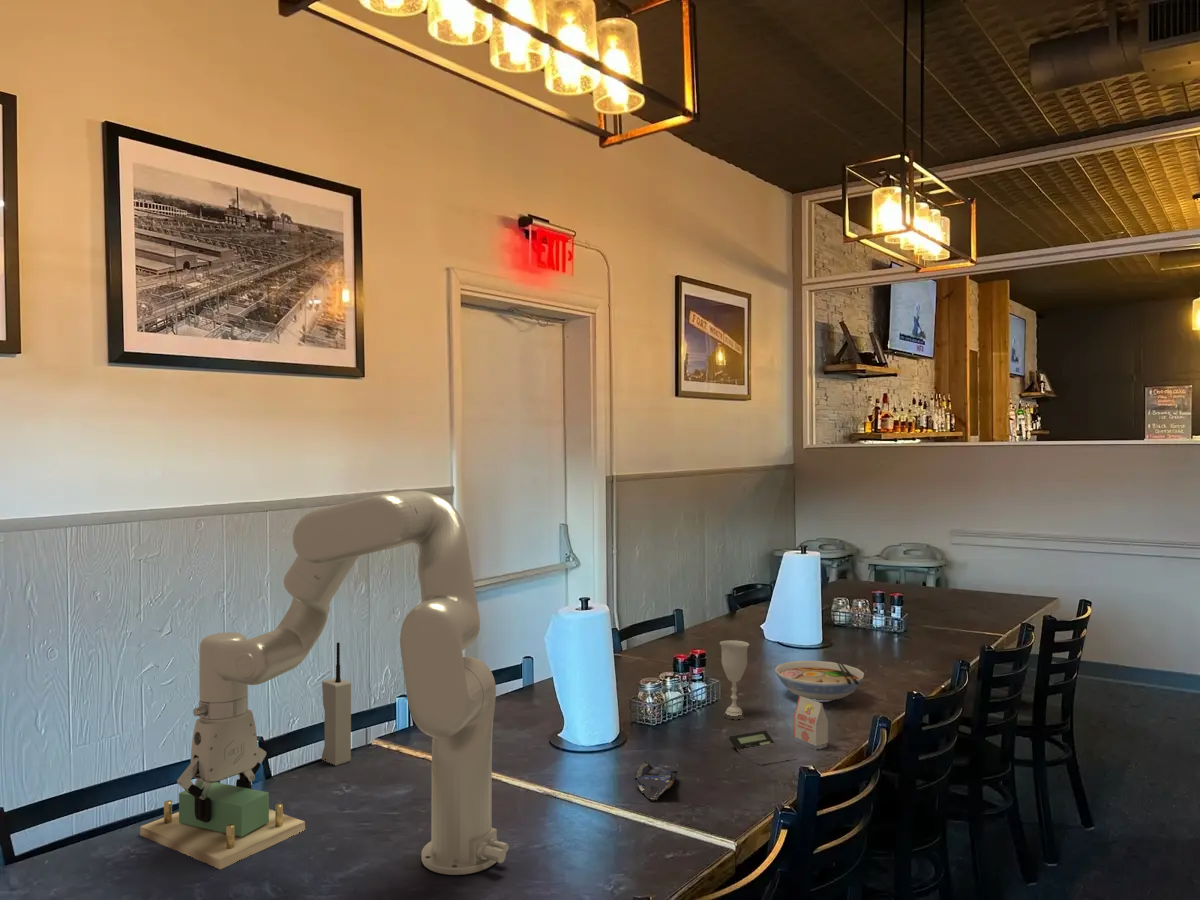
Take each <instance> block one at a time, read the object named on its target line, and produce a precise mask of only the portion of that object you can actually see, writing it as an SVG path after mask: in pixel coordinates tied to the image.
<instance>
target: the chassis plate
mask: <svg viewBox="0 0 1200 900" xmlns="http://www.w3.org/2000/svg"><path fill="white" fill-rule="evenodd" d="M274 807H275V808H274V809H275V810H273V809H270V808H269V822H268V823H266V824H264V825H262V826H261V827H259V828H257V829H255V830H253V831H251V832H250V833H248V834H246V835H244V836H242V837H240V836H236V835H235V825H234V824H228V825H227V826H226V833H223V832H218V831H214V830H209V829H205V828H201V827H196V826H192V825H187V824H183V823H179V811H177V812H175V813H173V801H172V800H166V801H164V802H163V817H162V818H159V819H157V820H154V821H151V822H149V823H146V824H143V825H141V826H140V827H139V830H140V832H139V834H140V836H141V837H144V838H146V839H148V840H150V841H153V842H155V843H157V844H159V845H162V846H164V847H167V848H169V849H172V850H173V851H176V850H177V851H176V852H178V851H179V853H181V854H183V855H185V854H186V856H189V857H190V856H191V858H192V857H193V859H195V860H197V861H200V862H202V863H205V864H206V863H207V865H210V866H211V867H213V866H214V868H216V869H218V870H222V869H224V868H227V867H229V866H231V865H233V864H235V863H237V861H238V862H240V861H242V860H244V859H246V858H249V857H250V855H251V856H252V855H254V854H257V853H260V852H261V851H263V850H266V849H268V848H270V847H272V846H275V845H277V844H278V843H280V842H283V841H285V840H288V839H290V838H292V837H294V836H296V835H298V834H300V833H303V832H305V831H306V821H305V820H301V819H298V818H296V817H293V816H290V815H287V814H284V804H283V803H277V804H275V806H274ZM304 830H305V831H304ZM302 831H303V832H302ZM299 832H300V833H299ZM293 835H294V836H293ZM291 836H292V837H291ZM289 837H290V838H289ZM241 859H242V860H241ZM239 860H240V861H239Z"/></svg>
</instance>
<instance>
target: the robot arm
mask: <svg viewBox="0 0 1200 900" xmlns="http://www.w3.org/2000/svg"><path fill="white" fill-rule="evenodd" d="M293 529H294V530H293V533H292V546H293V549H294V551H295V552H296V554H297V557H296V558H295V559H294V561H293V562H292V564H291V566H290V567H289V569H288V570H287V571H286V573H285V575H284V578H283V586H284V589H285V590H286V592H288V594H289V596H291V597H292V601H291V603H290V606H289V608H288V610H287V611H286V613H285V615H284V616H283V617H282V620H281V621H280V622H279V624H278V626H277V627H276V628H275V629H274V630H271V631H268V632H266V633H263V634H260V635H258V636H253V637H252V638H249V639H247V637H246V636H245V635H244V634H243V633H240V632H218V633H213V634H209V635H207V636H205V637H203V638H202V640H201V642H200V643H199V650H198V651H199V659H198V660H199V671H198V672H199V680H198V681H199V688H198V689H199V693H198V694H199V698H198V700H199V701H198V706H197V707H196V708H194V709H193V711H192V713H193V716H194V717H199V718H196V720H195V724H194V729H193V733H192V743H191V751H190V752H191V754H190V764H189V765H188V766H187V767H186V768H185V770H184V771H183V772H182V773H181V774H180V776H179V777H178V779H177V780H176V783H177V785H179V786H180V787H181V788H182V789H184V791H187V792H188V793H189V794H191V795H192V796H193V797H195V816H196V819H197V820H200V821H202V822H205V823H207V822H210V820H211V799H210V798H209V797H207V796H208V793H209V791H210V788H211V786H212V783H215V782H218V783H219V782H220V781H224V780H227V779H229V778H232V777H234V776H238V777H239V778H238V779H236V781H235V786H238V787H243V788H248V789H252V782H254V781H255V779H256V774H257V772H258V771H259V769H260V767H261V764H262V763H263V761H264V760H265V758H266V756H267V751H265V750H264V749H263V748H261V747H259V746H258V737H257V736H258V735H257V727H256V722H255V717H254V714H253V711H252V710H251V709H249V707H248V704H249V703H248V701H249V700H248V699H249V697H248V696H249V695H248V689H249V688H248V686H256V685H260V684H261V685H262V684H263V683H266V682H269V681H270V680H272V679H275V678H277V677H279V676H280V675H283V674H285V673H287V672H289V671H291V670H293V669H295V668H296V667H298V666H299V665H300V664H301V663H302V662H303V661H304V660H305V659H306V658H307V656H308V655H309V653H310V652H311V650H312V648H314V645H315V644H316V643H317V641H318V640H319V638H320V636H322V635H321V634H322V633H323V631H324V629H325V627H326V624H327V621H328V617H329V612H330V605H331V601H332V600H333V598H334V596H335V595H336V593H337V591H338V590H339V588H340V586H341V585H342V584H343V582H344V580H345V578H346V577H347V575H348V573H349V572H350V571H351V569H352V568H353V566H354V565H355V563H356V562H357V560H358V558H359V557H360V556H364V555H368V554H372V553H376V552H381V551H386V550H390V549H394V548H398V547H402V546H405V545H410V544H416V545H417V547H418V559H417V560H418V561H417V575H418V581H419V584H420V585H419V587H420V596H421V602H420V603H419V604H417V605H415V606H414V607H413V608H412V609H411V610H409V612H408V613H407V614H406V616H405V618H404V620H403V622H402V623H401V624H402V625H401V627H400V636H399V647H400V648H399V649H400V655H401V662H402V670H403V676H404V682H405V683H404V684H405V690H406V699H407V703H408V707H409V708H408V709H409V712H410V715H411V718H412V721H413V722H414V724H415V725H416V727H417V728H418V729H419V730H420V731H421V732H422V733H423V734H425V735H426V736H429V737H430V738H432V740H431V829H430V830H431V839H430V841H429V842H427V844H425V845H424V846H423V848H422V849H421V863H422V865H423V866H424V867H425V868H427V869H428V870H429V871H431V872H434V873H438V874H441V875H442V874H443V875H449V876H462V875H470V874H471V875H472V874H475V873H479V872H481V871H484V870H487V869H488V868H490V867H492V866H493V865H495V864H496V863H498V864H502V863H504V861H505V860H506V857H507V852H508V850H509V847H510V846H509V845H510V844H509V843H507V842H504V841H499V840H498V838H497V833H498V831H497V828H495V827H492V806H493V805H492V797H493V796H492V791H493V790H492V785H493V784H492V782H493V781H492V776H493V775H492V770H493V769H492V764H493V763H492V759H493V727H494V726H493V725H494V715H495V707H496V696H497V692H496V691H497V689H496V688H497V685H496V681H495V677H494V675H493V672H492V670H491V668H490V667H489V666H488V665H487V664H486V663H485V662H484V661H483V660H481V659H478V658H476V657H474V656H464V655H463V651H464V650H466V649H467V648H468V647H469V646H470V645H471V644H473V642H474V641H475V640H476V639H477V637H478V636H479V633H480V629H481V620H480V619H481V618H480V614H479V613H480V612H479V608H478V601H477V594H476V586H475V581H474V573H473V570H472V564H471V563H472V562H471V558H470V550H469V542H468V534H467V530H466V526H465V524H464V521H463V519H462V517H461V515H460V514H459V512H458V511H457V509H456V508H455V507H454V505H452V504H451V503H450V502H449V501H447V500H446V499H444V498H443V497H441V496H438V495H436V494H435V493H434V494H433V493H431V492H426V491H421V490H420V491H419V490H404V491H397V492H390V493H389V492H388V493H382V494H378V495H377V494H376V495H372V496H368V497H365V498H361V499H356V500H352V501H349V502H344V503H340V504H337V505H332V506H327V507H323V508H318V509H315V510H311V511H309V512H307V513H306V514H304V515H303V516H302V517H301V518H300V519H299V520H298V522H297V524H296V525H295V527H294V528H293ZM192 779H196V780H195V782H192ZM203 783H204V784H203ZM202 785H203V787H202ZM201 788H202V789H201Z"/></svg>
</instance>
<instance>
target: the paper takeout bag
mask: <svg viewBox="0 0 1200 900" xmlns="http://www.w3.org/2000/svg"><path fill="white" fill-rule="evenodd" d="M823 704H824V703H819V702H817V701H814V700H811V699H808V698H805V697H802V696H798V699H797V703H796V706H795V710H794V711H793V712H794V713H793V738H794V737H796V738H799V739H801V740H803V741H805V742H808V743H810V744H813V745H815V746H817V745H821V744H825V743H828V744H829V720H828V716H827V715H826V712H825V709H824V706H823Z"/></svg>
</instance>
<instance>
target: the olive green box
mask: <svg viewBox="0 0 1200 900" xmlns="http://www.w3.org/2000/svg"><path fill="white" fill-rule="evenodd" d="M203 784H204V783H203ZM202 787H203V785H202ZM201 789H202V788H201ZM207 797H209V798H210V799H211V820H210V822H207V823H205V822H202V821H200V820H197V819H196V816H195V797H193V796H192V795H191V794H189V793H188V792H187V791H185V790H183V791H181V792H179V793H178V812H179V823H183V824H187V825H192V826H196V827H201V828H205V829H209V830H214V831H218V832H223V833H226V826H227V825H228V824H234V825H235V835H236V836H240V837H242V836H244V835H246V834H248V833H250V832H251V831H253V830H255V829H257V828H259V827H261V826H262V825H264V824H266V823H268V822H269V809H270V792H268V791H263V790H257V789H252V788H251V789H248V788H243V787H238V786H236V785H232V784H227V783H222V782H219V781H218V782H215V783H212V786H211V788H210V791H209V793H208V796H207Z"/></svg>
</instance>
